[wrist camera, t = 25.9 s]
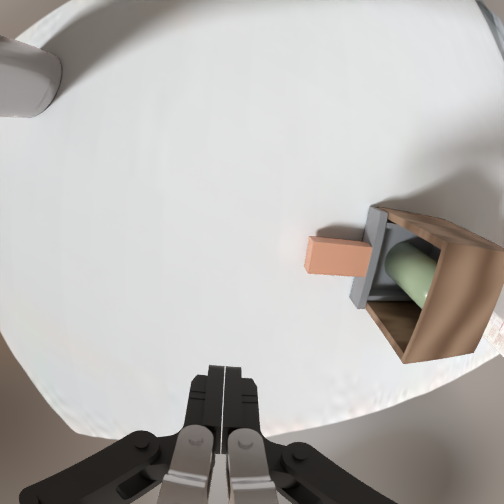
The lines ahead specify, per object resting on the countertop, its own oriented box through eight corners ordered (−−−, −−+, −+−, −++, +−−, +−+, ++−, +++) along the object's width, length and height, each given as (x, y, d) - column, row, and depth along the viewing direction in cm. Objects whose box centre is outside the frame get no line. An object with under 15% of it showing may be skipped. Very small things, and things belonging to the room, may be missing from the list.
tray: (297, 294, 35) (301, 307, 32) (313, 198, 31) (320, 203, 28) (415, 298, 36) (425, 308, 33) (437, 218, 32) (450, 224, 29)
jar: (377, 261, 32) (420, 302, 23) (405, 233, 31) (455, 265, 22) (395, 286, 34) (436, 328, 24) (421, 260, 33) (468, 295, 23)
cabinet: (357, 297, 35) (403, 364, 23) (378, 206, 31) (447, 242, 19) (421, 298, 36) (473, 352, 23) (443, 219, 32) (513, 253, 19)
